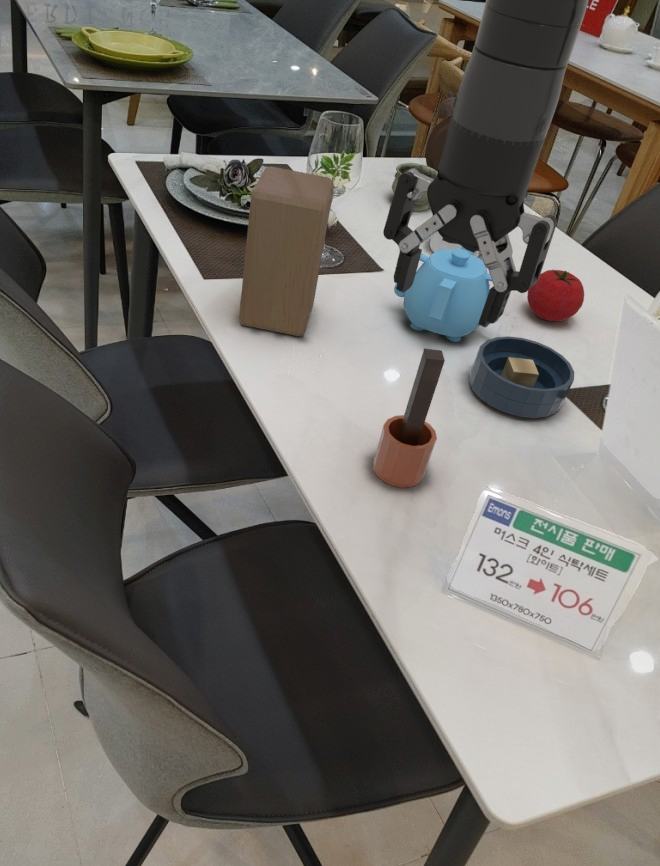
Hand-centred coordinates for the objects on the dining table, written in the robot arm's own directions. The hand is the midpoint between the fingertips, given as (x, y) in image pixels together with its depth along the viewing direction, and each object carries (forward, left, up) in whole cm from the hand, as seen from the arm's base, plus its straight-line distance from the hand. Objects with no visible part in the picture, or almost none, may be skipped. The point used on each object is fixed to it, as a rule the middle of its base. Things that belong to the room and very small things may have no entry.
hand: (443, 305), depth 71 cm
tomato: (-32, -49, -25) cm, 64 cm away
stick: (-2, -6, -25) cm, 25 cm away
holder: (-2, -6, -25) cm, 26 cm away
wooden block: (+13, -39, -25) cm, 48 cm away
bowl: (-21, -25, -25) cm, 41 cm away
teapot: (-13, -43, -25) cm, 51 cm away
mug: (-21, -69, -25) cm, 76 cm away
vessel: (-14, -89, -25) cm, 93 cm away
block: (-21, -26, -24) cm, 41 cm away
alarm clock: (-24, -98, -25) cm, 104 cm away
